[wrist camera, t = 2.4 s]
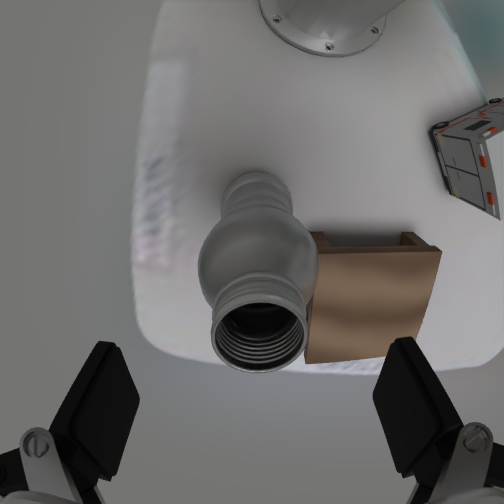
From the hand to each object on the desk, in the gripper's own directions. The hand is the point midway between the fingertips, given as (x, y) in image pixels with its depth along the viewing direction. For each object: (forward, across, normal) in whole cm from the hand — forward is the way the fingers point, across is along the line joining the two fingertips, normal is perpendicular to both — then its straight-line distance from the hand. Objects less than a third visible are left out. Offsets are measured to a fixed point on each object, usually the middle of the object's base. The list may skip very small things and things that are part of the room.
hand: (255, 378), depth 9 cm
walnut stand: (+22, -12, +9) cm, 26 cm away
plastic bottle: (+22, 0, -1) cm, 22 cm away
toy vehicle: (+22, -28, -10) cm, 36 cm away
